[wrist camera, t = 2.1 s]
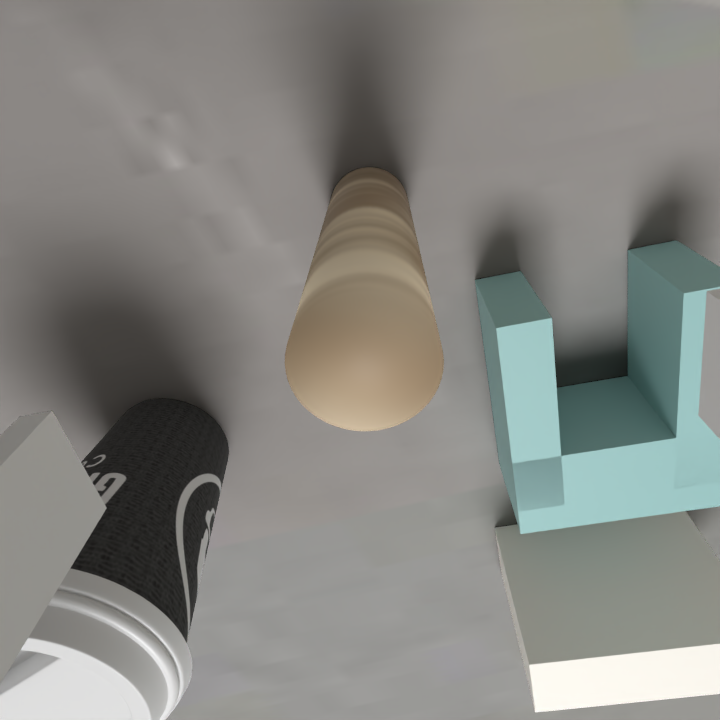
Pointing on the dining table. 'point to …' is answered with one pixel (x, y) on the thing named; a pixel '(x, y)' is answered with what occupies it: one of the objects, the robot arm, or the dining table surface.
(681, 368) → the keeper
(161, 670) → the coffee cup
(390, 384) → the dowel
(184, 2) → the dining table surface
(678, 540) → the wall
